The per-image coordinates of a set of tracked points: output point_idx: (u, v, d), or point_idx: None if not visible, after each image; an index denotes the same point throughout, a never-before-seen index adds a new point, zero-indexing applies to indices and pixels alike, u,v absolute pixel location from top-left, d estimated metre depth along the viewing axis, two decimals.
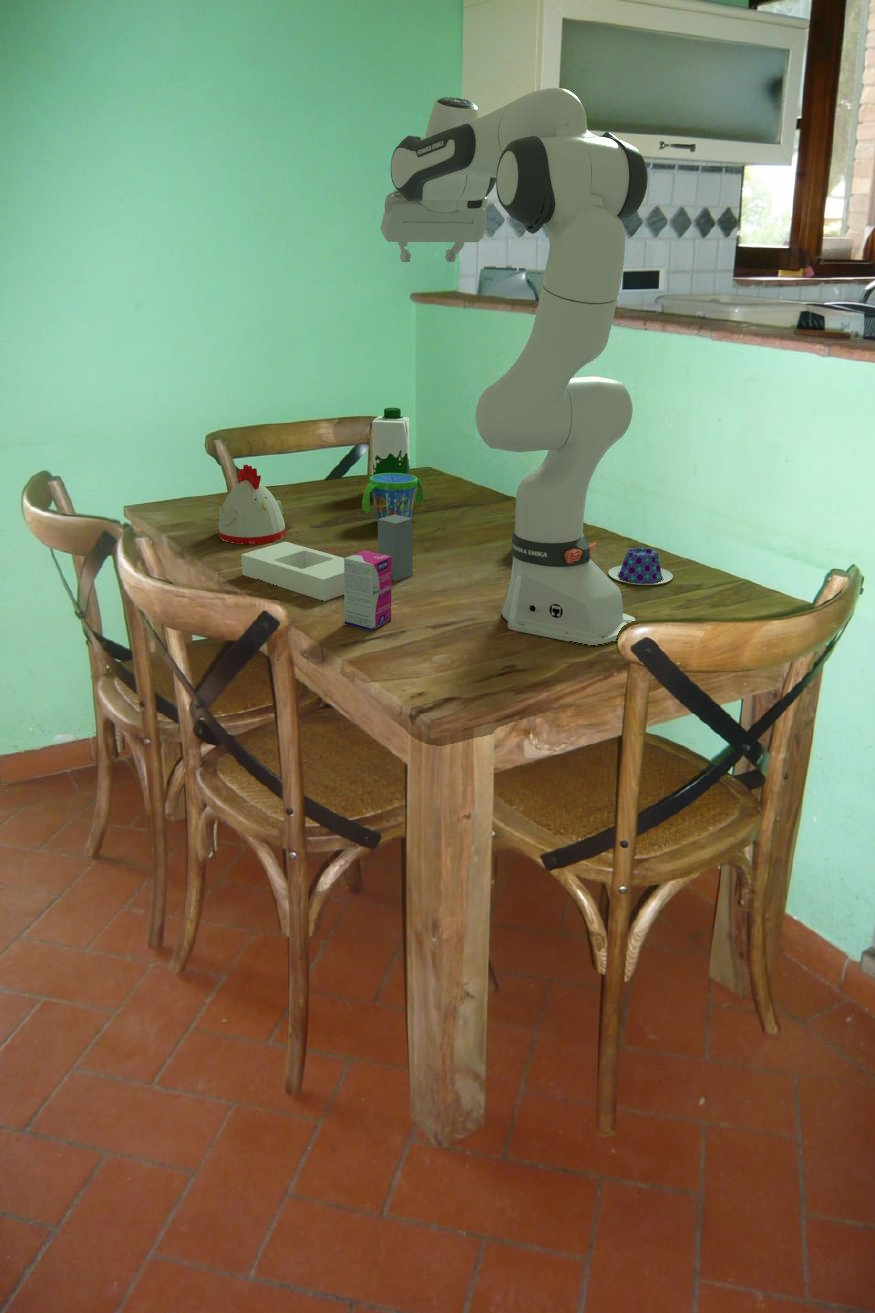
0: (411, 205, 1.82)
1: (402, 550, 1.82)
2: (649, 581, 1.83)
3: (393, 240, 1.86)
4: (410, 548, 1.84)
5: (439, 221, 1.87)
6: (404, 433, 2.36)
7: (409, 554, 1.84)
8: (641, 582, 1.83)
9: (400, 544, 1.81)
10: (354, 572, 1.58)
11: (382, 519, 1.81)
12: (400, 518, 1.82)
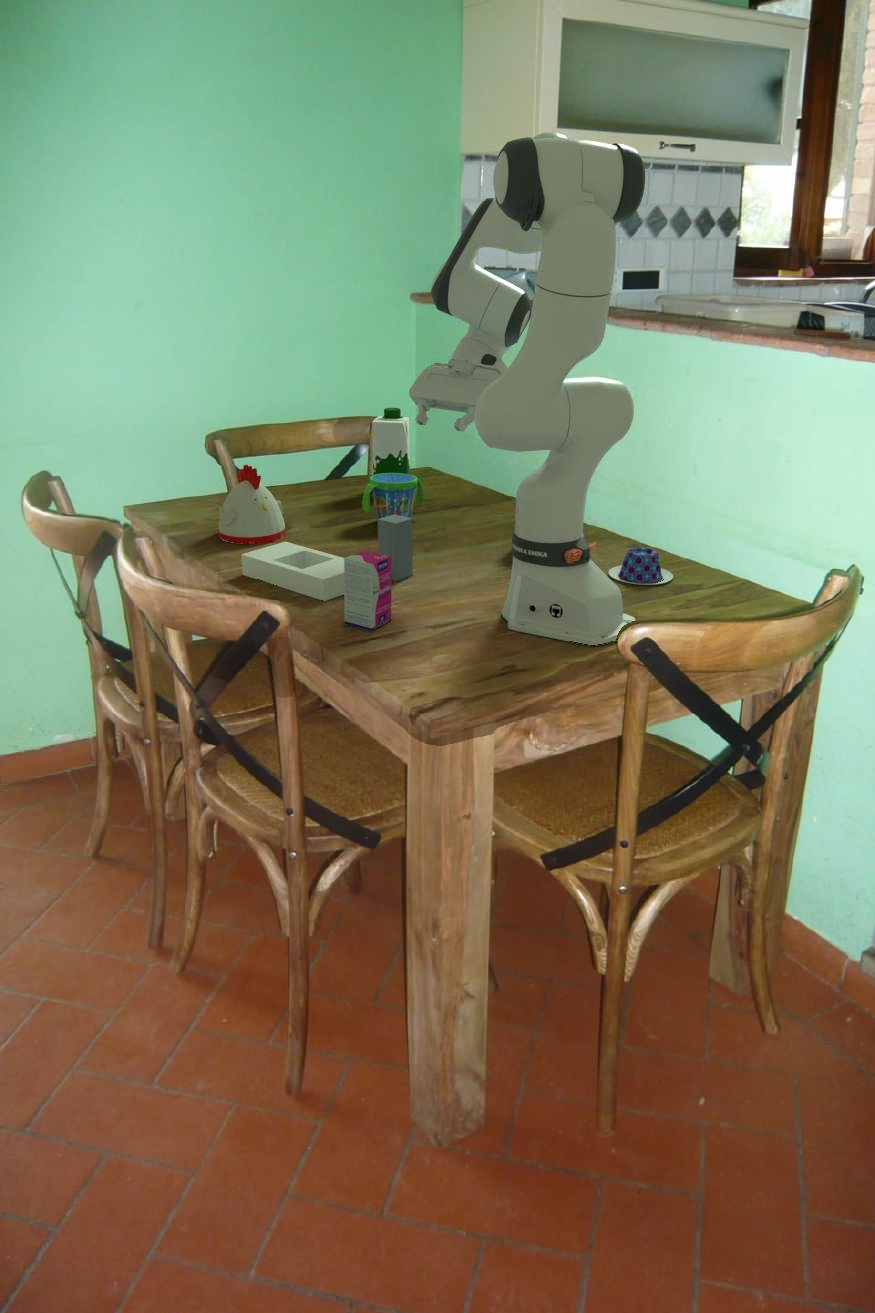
0: (439, 366, 1.89)
1: (402, 550, 1.82)
2: (649, 581, 1.83)
3: (413, 393, 1.89)
4: (410, 548, 1.84)
5: (457, 383, 1.85)
6: (404, 433, 2.36)
7: (409, 554, 1.84)
8: (640, 582, 1.83)
9: (400, 544, 1.81)
10: (354, 572, 1.58)
11: (382, 519, 1.81)
12: (400, 518, 1.82)
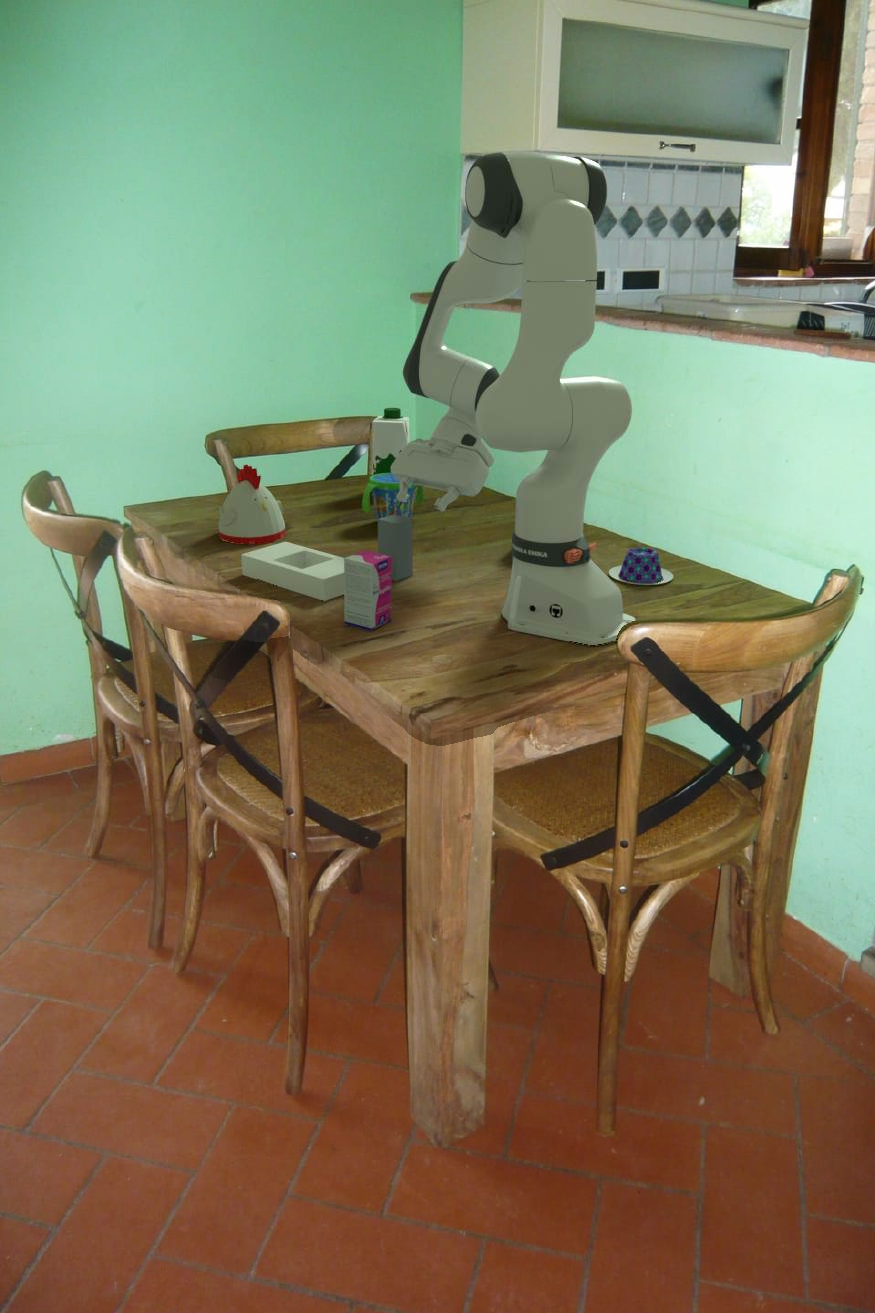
0: (421, 443, 1.91)
1: (402, 550, 1.82)
2: (648, 581, 1.83)
3: (394, 470, 1.91)
4: (410, 548, 1.84)
5: (438, 462, 1.87)
6: (404, 433, 2.36)
7: (409, 554, 1.84)
8: (640, 582, 1.83)
9: (400, 544, 1.81)
10: (354, 572, 1.58)
11: (382, 519, 1.81)
12: (400, 518, 1.82)
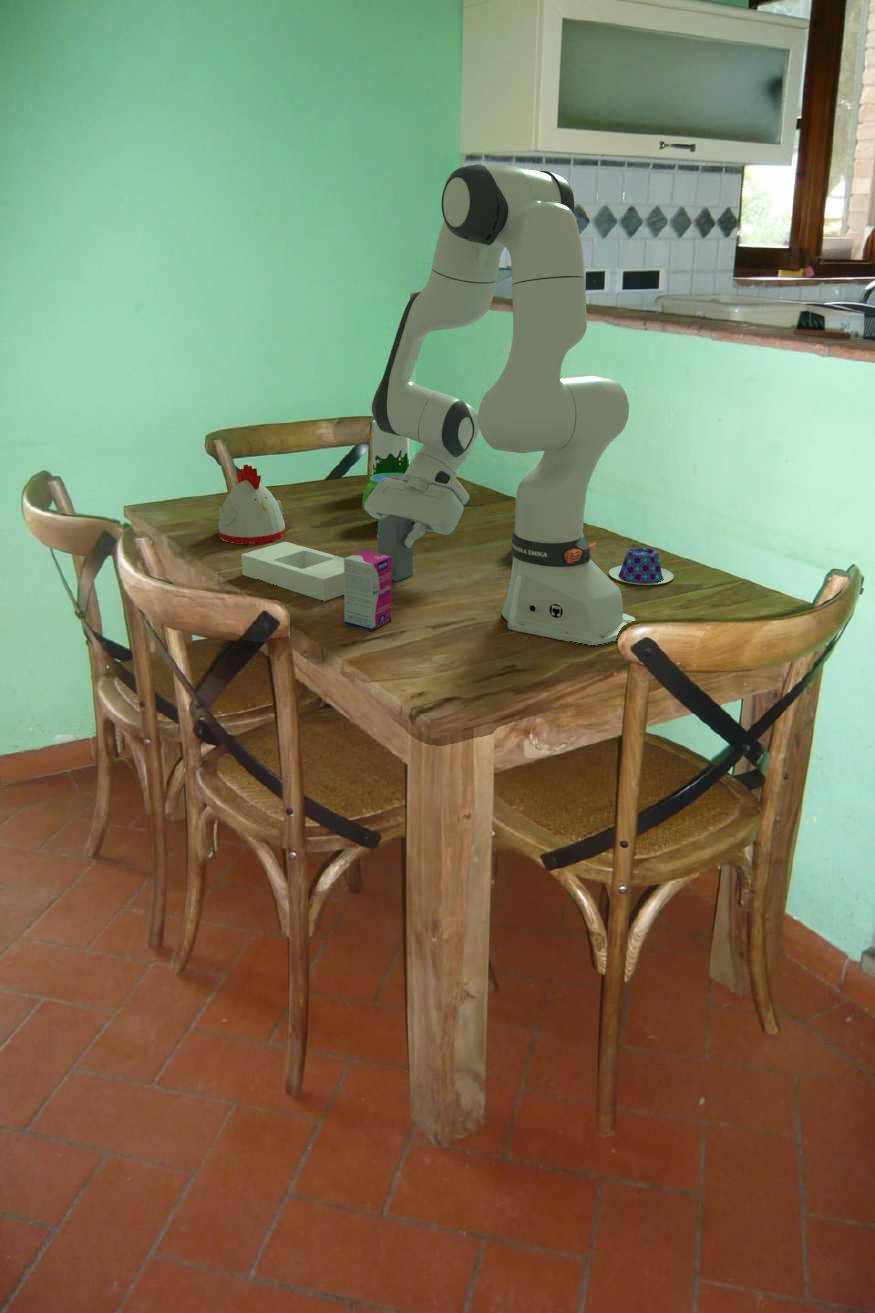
0: (395, 480, 1.88)
1: (402, 550, 1.82)
2: (647, 581, 1.83)
3: (368, 506, 1.88)
4: (410, 548, 1.84)
5: (412, 499, 1.84)
6: None
7: (409, 554, 1.84)
8: (639, 582, 1.83)
9: (400, 544, 1.81)
10: (354, 572, 1.58)
11: (382, 519, 1.81)
12: (400, 518, 1.82)
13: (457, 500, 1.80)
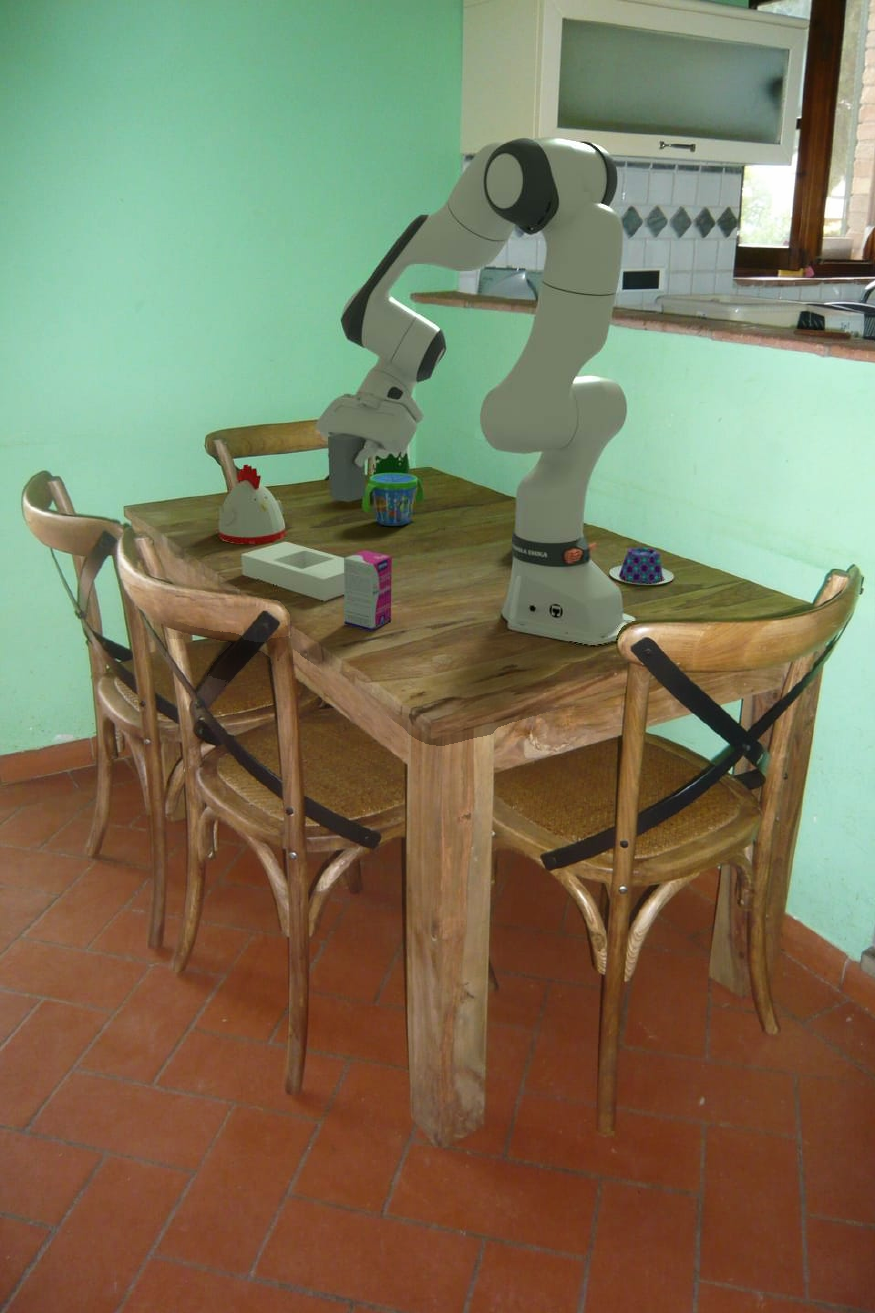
0: (348, 398, 1.81)
1: (353, 469, 1.75)
2: (646, 581, 1.83)
3: (320, 426, 1.81)
4: (362, 468, 1.77)
5: (364, 417, 1.77)
6: None
7: (361, 474, 1.77)
8: (637, 582, 1.83)
9: (351, 462, 1.74)
10: (354, 572, 1.58)
11: (332, 437, 1.74)
12: (351, 436, 1.75)
13: (410, 417, 1.73)
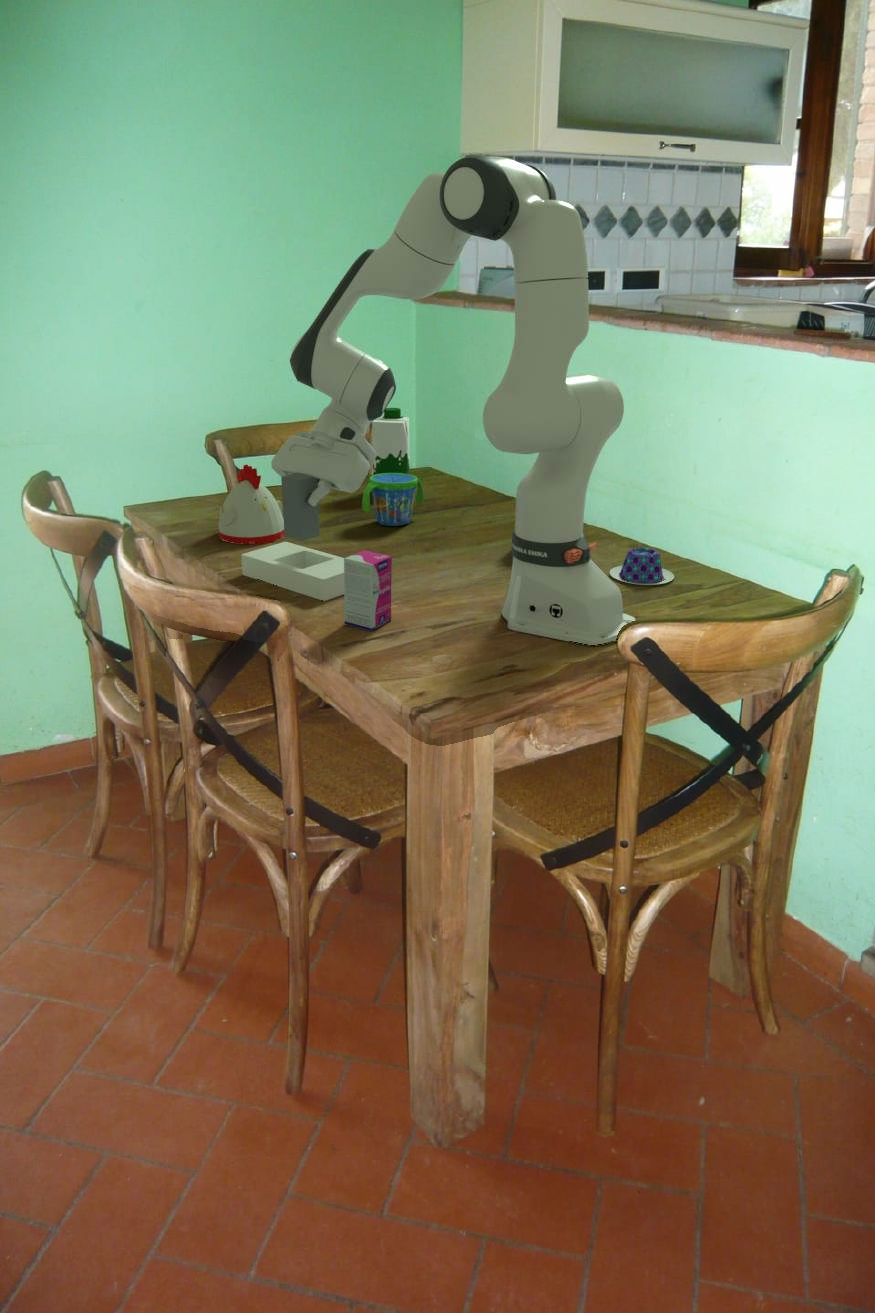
0: (302, 437, 1.82)
1: (307, 508, 1.76)
2: (645, 581, 1.83)
3: (274, 465, 1.82)
4: (316, 507, 1.78)
5: (318, 456, 1.78)
6: (404, 433, 2.36)
7: (315, 513, 1.78)
8: (636, 581, 1.83)
9: (304, 502, 1.76)
10: (354, 572, 1.58)
11: (286, 477, 1.75)
12: (305, 475, 1.76)
13: (362, 457, 1.74)
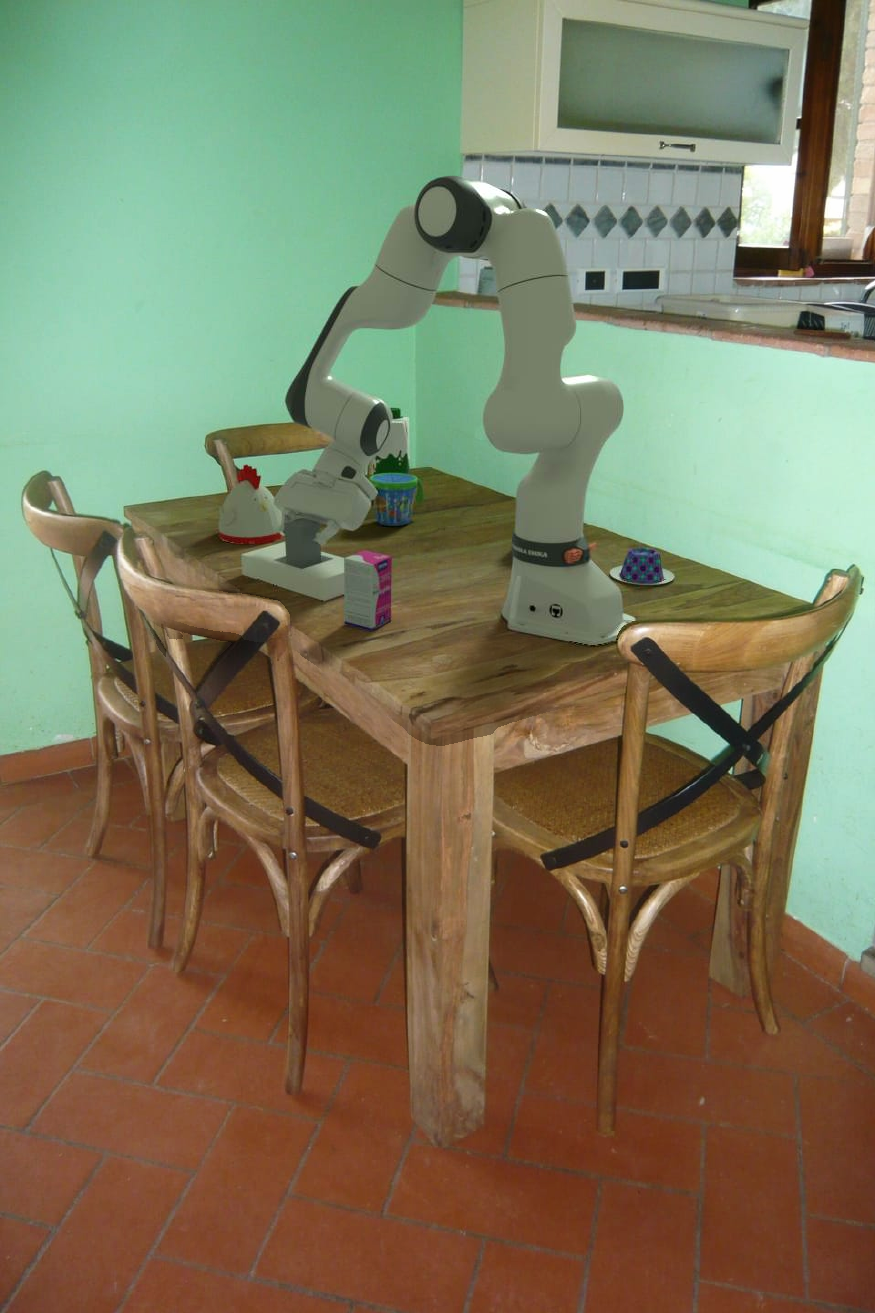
0: (304, 475, 1.85)
1: (309, 554, 1.80)
2: (644, 581, 1.83)
3: (277, 502, 1.85)
4: (318, 553, 1.81)
5: (319, 494, 1.80)
6: (404, 433, 2.36)
7: (317, 558, 1.82)
8: (635, 581, 1.83)
9: (306, 548, 1.79)
10: (354, 572, 1.58)
11: (288, 523, 1.78)
12: (307, 522, 1.80)
13: (363, 495, 1.77)
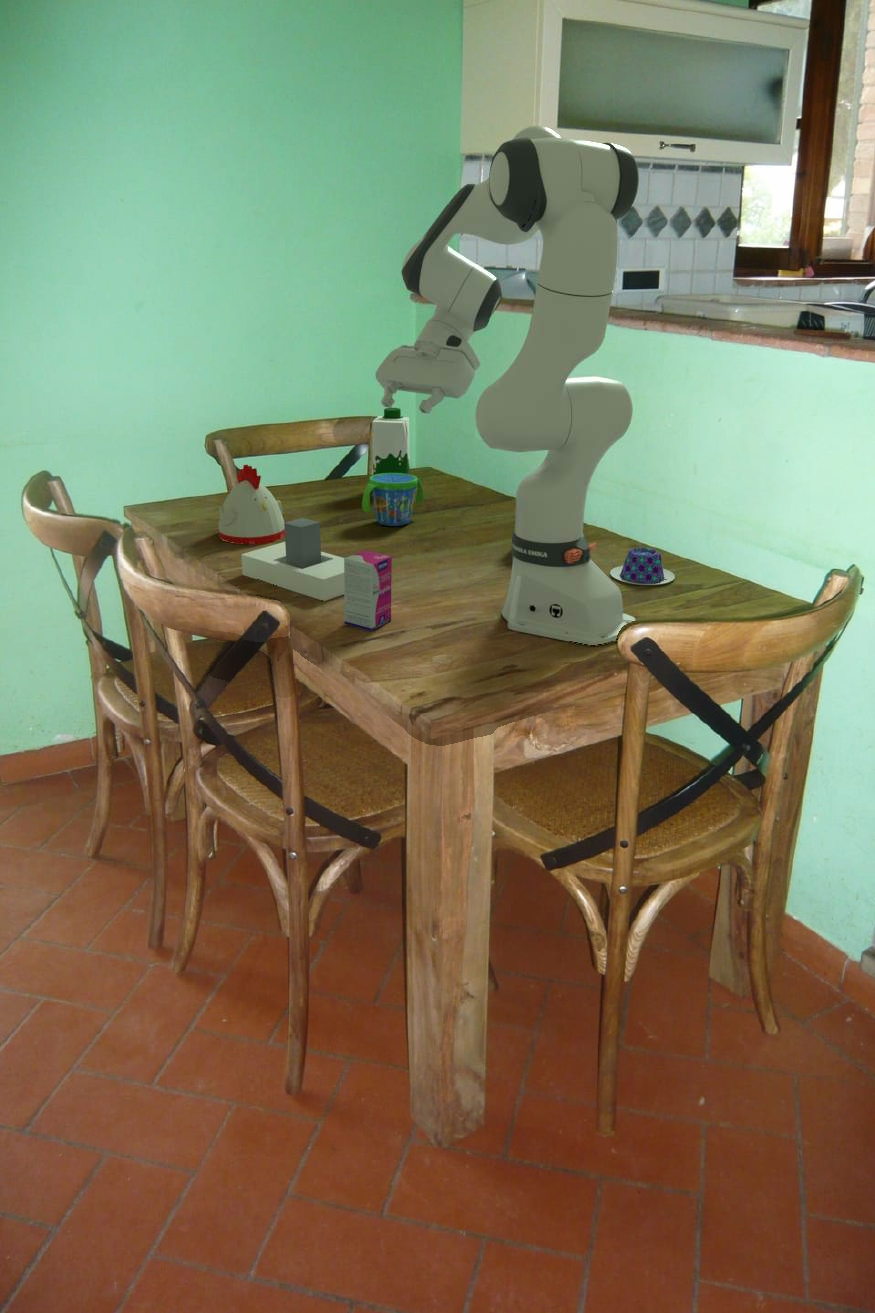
0: (406, 349, 1.88)
1: (309, 554, 1.80)
2: (642, 581, 1.83)
3: (379, 375, 1.88)
4: (318, 553, 1.81)
5: (423, 365, 1.84)
6: (404, 433, 2.36)
7: (317, 558, 1.82)
8: (633, 581, 1.84)
9: (306, 548, 1.79)
10: (354, 572, 1.58)
11: (288, 523, 1.78)
12: (307, 522, 1.80)
13: (468, 363, 1.80)
